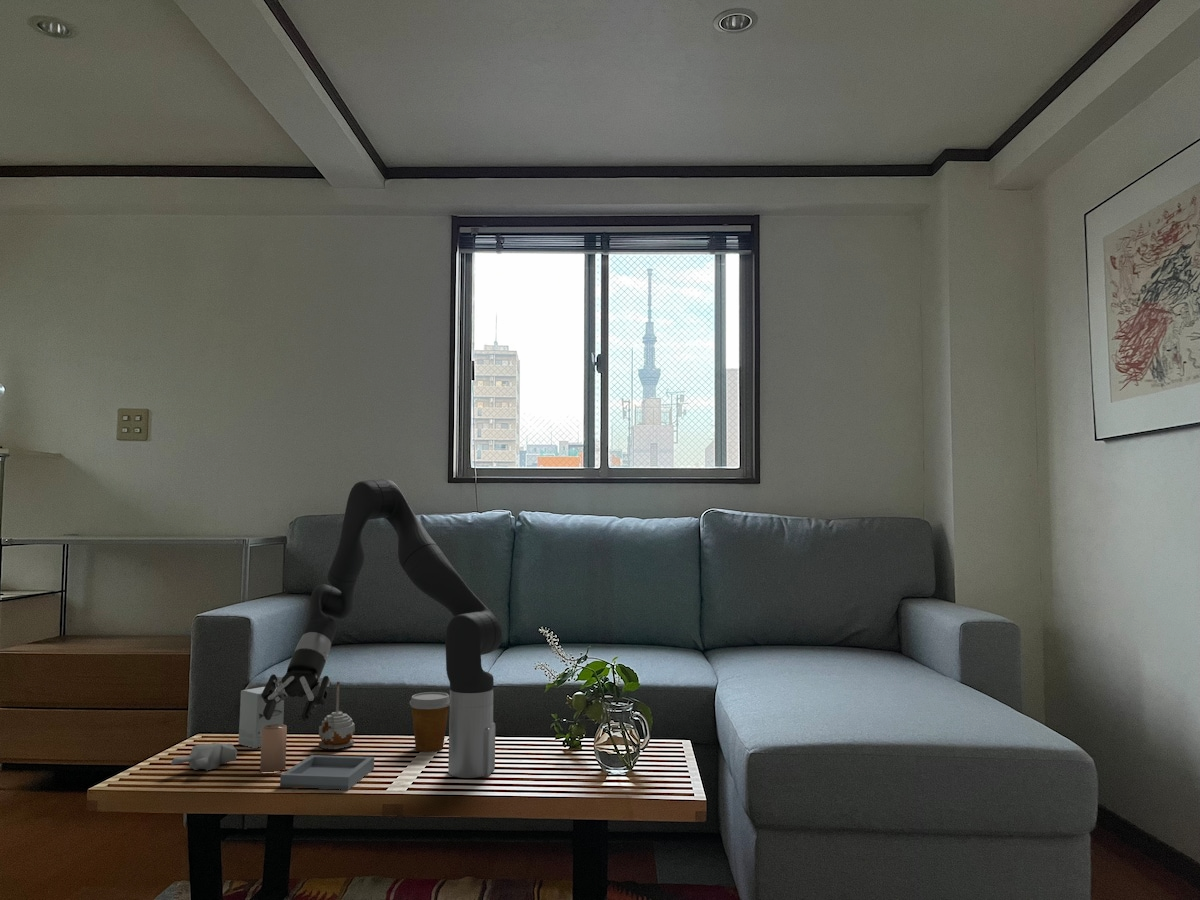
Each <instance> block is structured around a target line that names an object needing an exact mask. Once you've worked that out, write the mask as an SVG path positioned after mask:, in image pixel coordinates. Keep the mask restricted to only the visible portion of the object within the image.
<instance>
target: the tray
mask: <svg viewBox="0 0 1200 900" xmlns="http://www.w3.org/2000/svg"><path fill="white" fill-rule="evenodd" d="M374 769H375V756H356V755H355V756H351V755H350V756H349V755H348V756H347V755H324V754H323V755H318V754H317V755H316V754H311V755H309V756H308V757H305V759H303V760H302V761H299V763H297V764H295V765H293V766H292V767H291V768H289V769H288V770H286V771H285V772H284V771H283V773H281V774H279V775H280V780H279V781H280V782H279V788H280V787H305V788H319V789H318V790H327V789H339V790H338V791H350V790H351V789H352V788H353V787H354V786H355V785H356V784H358V783H359V782H360V781H362V778H363V777H364V776H365V777H366V776H368V775H369V774H370V773H371V772H372V771H373V770H374ZM369 772H370V773H369ZM368 773H369V774H368ZM365 777H364V778H365ZM364 778H363V779H364ZM357 782H358V783H357ZM351 787H352V788H351ZM340 789H341V790H340Z"/></svg>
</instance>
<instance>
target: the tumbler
mask: <svg viewBox="0 0 1200 900" xmlns="http://www.w3.org/2000/svg"><path fill="white" fill-rule="evenodd" d="M287 726H288V725H286V724H284V723H283V724H272V725H267V726H263V727H262V733H261V747H260V760H259V761H260V767H259V772H260V771H261V772H274V771H280V770H283V769H285V770H286V760H287V759H286V758H287V736H288V735H287V734H288V733H287V731H288V730H287V729H288V727H287ZM261 772H260V773H261Z"/></svg>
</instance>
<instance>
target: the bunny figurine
mask: <svg viewBox="0 0 1200 900" xmlns="http://www.w3.org/2000/svg"><path fill="white" fill-rule="evenodd" d="M237 755H238V750H237V749H236V747H234V744H232V743H219V742H218V743H217V742H214V743H213V742H212V743H210V744H209V743H201V744H200V743H199V744H196V745H194V746H192V748H191V751H190V753H189V755H188V756H178V757H173V759H172V760H171V763H170V765H178V764H183V763H184V764H185V763H188V765H189V767H190V769H193V770H194V771H195V770H198V771H200V770H205V771H206V772H209V771H208V770H210V771H212V770H216V769H218V768H219V767H220V765H223V764H228V763H230V762H233V761H234V762H235V761H236V760H237ZM227 762H228V763H227ZM218 766H219V767H218ZM217 767H218V768H217Z"/></svg>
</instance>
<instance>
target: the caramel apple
mask: <svg viewBox="0 0 1200 900" xmlns="http://www.w3.org/2000/svg"><path fill="white" fill-rule="evenodd" d="M340 683H341V682H340V681H339V680H337V681H336V695H335V696H336V697H335V698H336V699H335V700H336V701H335V703H336V704H335V707H336V708H335V711H333V712H331V714H326V717H324V719H323V720H322V721H321V725H319V726H318V727H319V728H318V736H319V737H320V739H321V740H320V742H318V747H319V748H322V749H327V748H328V749H327V750H333V749H334V750H339V748H343V749H345V748H348V747H351V746H353V744H355V740H354V739H353V735H355V731H356V726H355V723H354V722H353V719H352V717H350V715H348V714H347V713H343V711H342V710H340V686H341V685H340ZM344 747H345V748H344Z"/></svg>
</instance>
